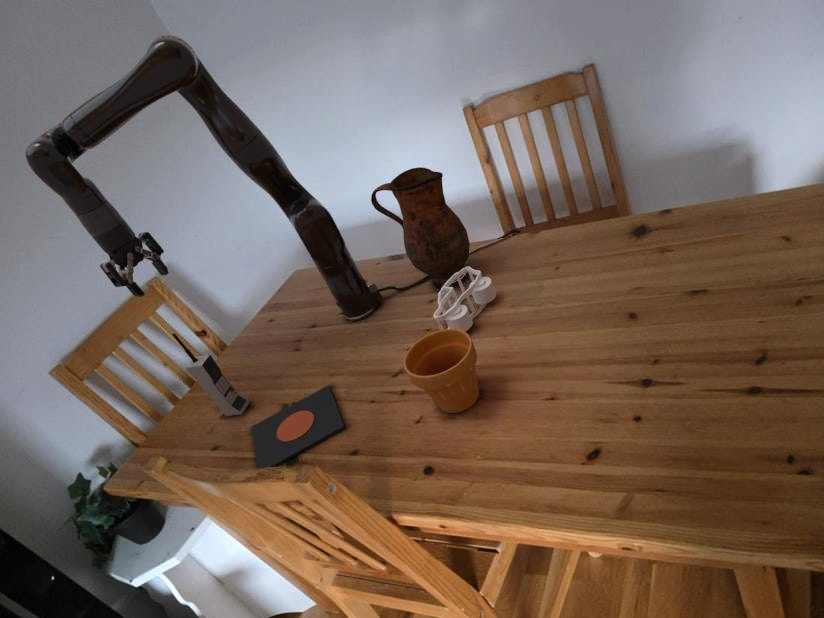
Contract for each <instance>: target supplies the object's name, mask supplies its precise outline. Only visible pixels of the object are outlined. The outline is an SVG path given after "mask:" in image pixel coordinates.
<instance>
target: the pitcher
mask: <svg viewBox="0 0 824 618" xmlns="http://www.w3.org/2000/svg"><path fill="white" fill-rule="evenodd" d="M443 174H444V173H443V172H441V171H434V170H431V169H430V168H427V167H422V166H421V167H414V168H410V169H409V168H408V169H407V170H405V171H403V172H401V173H399V174H398V175H396V176H395V177H394V178H393V179H392V180H391V182H387V183H383V184H381V185H379V186H377V187H376V188H375V189H374V190H373V191H372V193H371V197H370V202H371V205H372V206H373V208H374V209H375V210H376V211H377V212H379V213H381V214H382V215H383V216H386V217H388V218H389V219H391V220H393V221H395V222H396V223H398V224H399V225H400V226H401V227H402V231H403V244H404V245H403V246H404V249H405V254H406V256H407V258H408V260H409V261H410V263H411V264H412V266H413V267H414V268H415V269H416V270H419V271H420V272H422V273H423V274H425V275H426V276H428V275H430V276H432V277H433V278H432V280H431V282H432V287H434V288H436V289H439V290H441V288H442V287H443V285H444V284H445V283H446V282H447V281H448V280H449V279H450V278H451V277H452V276H453V275H454V274H455V273H456V272H459V271H460V270H462V269H463V268H464V267H467V266H466V263H467V261H468V259H469V255H470V254H469V251H470V246H471V245H470V244H471V243H470V239H469V235H468V231H467V229H466V227H465V225H464V224H463V222H462V220H461V218H460V217H459V216H458V215H457V214H456V213H455V212H454V211H453V210H452V209H451V207H450V206H449V205H448V204H447V202H446V198H445V194H444V187H443V176H444V175H443ZM381 191H388V192H391V193H392V195H393V196H394V198H395V199H396V201H397V203H398V207H399V208H400V212H401V217H402V218H401V217H400V216H399V215H397V214H396V213H393V212H392V211H391V210H389V209H387V208H385V207H384V206H382V204H380V202H379V201H378V199H377V193H379V192H381ZM463 275H464V274H463ZM463 275H462V276H463ZM462 276H460V278H461V277H462ZM469 278H470V276H469V273H468V272H467V273H466V275H465V276H464V277H463V278H462V279H461V282H462V284H464V283H465V282H466V281H468V279H469ZM456 280H457V279H455V280H454V281H456ZM454 281H453V282H454ZM458 286H460V285H459V283H458V281H456V282H454V283H451V284H450V286H449V287H453V288H455V287H458Z"/></svg>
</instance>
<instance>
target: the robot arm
mask: <svg viewBox="0 0 824 618" xmlns="http://www.w3.org/2000/svg"><path fill="white" fill-rule="evenodd" d="M175 92H177V93H178V94H179V95H180V96H181V97H182V98H183V99H184V100H185V101H186V102H187V104H189V105H190V106H191V107H192V109H194V111H195V112H196V113H197V114H198V116H199V118H200V119H201V120H202V122H203V124H204V125H205V127H206V128H207V129H208V131H209V132H210V135H212V137H213V138H214V141H216V143H217V144H218V145H219V147H220V148H221V150H222V151H223V152H224V153H225V155H227V157H228V158H229V159H230V160H231V161H232V162H233V163H234V165H236V166H237V168H238V169H240V171H241V172H242V173H243V174H244V175H246V177H248V178H249V179H250V180H251V181H252V182H254V184H256V185H257V186H258V187H259V188H261V189H262V190H263V191H265V192H266V193H267V194H268V195H269V196H270V198H272V200H274V202H275V203H276V204H277V205H278V207H279V208H280V209H281V211H282V212H283V213H284V215H285V216H286V218H287V219H288V221H289V223H290V224H291V226H292V228H293V229H294V230H295V232H296V233H297V235H298V238H299V239H300V240H301V242H302V244H303V246H304V248H305V249H306V251H307V253H308V254H309V256H310V258H311V260H312V262H313V264H314V265H315V267H316V269H317V270H318V273H319V274H320V276H321V278H322V279H323V281H324V282H325V284H326V286H327V288H328V290H329V291H330V292H331V295H332V296H333V298H334V300H335V302H336V306H337V307H338V308H339V309H340V310H341V312H342V314H343V317H344V318H345V319H346V320H347V321H349V322H356V321H360V320H363V319H366V317H368V316H370V315H371V314H372V313H373V312H374V311H375V310H376V309H378V308H379V305H378V302H377V301H379V300H381V299H383V296H382V293H381V292H385V291H388V290H393V291H398V292H401V291H402V292H403V291H406V290H409V289H412V288H414V287H416V286H419V285H420V284H421V283H423V282H425V281H426V280H428V279H430V278H432V277H433V276H430V275H426V276H424V277H423V278H421V279H418V280H417V281H415V282H413V283H411V284H409V285H407V286H403V287H397V286H394V285H393V286H385V287H381V288H378V287H377V285H376V284H375V283H373V284H371V285H368V284H367V282H366V280H365V278H364V277H363V275H362V273H361V272H360V270H359V268H358V266H357V264H356V262H355V260H354V258H353V256H352V253H350V251H349V248H348V247H347V244H346V241H345V239H344V237H343V235H342V233H341V231H340V229H339V228H338V226H337V223H336V221H335V219H334V218H333V216H332V214H331V212H330V211H329V210H328V209H327V208H326V206H325V205H324V204H323V203H322V202H321V201H320V200H318V199H317V198H316V197H315V196H314V195H312V193H310V192H309V191H308V190H307V188H305V186H303V185H302V184H301V182H300V181H298V180H297V178H296V177H295V176H294V175H293V174H292V172H291V171H290V169H289V167H288V165H287V164H286V162H285V161H284V159H283V158H282V156H281V155H280V153H279V151H278V150H277V149H276V148H275V147H274V145H273V143H272V142H271V141H270V140H269V139H268V137H267V136H266V135H265V133H263V132H262V130H261V129H260V128H259V127H258V126H257V124H255V123H254V121H253V120H252V119H251V118H250V117H249V116H248V115H247V114H246V113H245V112H244V111H243V110H242V109H241V108H240V107H239V106H238V104H236V103H235V102H234V101H233V100H232V99H231V97H229V96H228V95H227V94H226V93H225V91H224V90H223V89H222V88H221V87H220V85H219V84H218V83H217V81H216V80H215V78H214V77H213V76H212V75H211V74H210V72H209V71H208V69H207V68H206V66H205V65H204V64H203V62H202V60H201V59H200V58H199V56H198V55H197V53H196V51H195V50H194V48H193V47H192V46H191V45H190V44H189V43H188V42H187V41H186V40H184V39H183V38H181V37H178V36H175V35H171V34H165V35H164V34H163V35H159V36H158V37H156V38H155V39H153V40H152V41H151V43H150V45H149V46H148V48H147V51H146V53H145V54H144V56H143V57H141V59H139V61H138V62H137V64H136V65H135V66H134V67H133V68H132V69H131V70H130V71H128V73H127V74H125V75H124V76H123V77H121V78H120V79H119V80H117V81H116V82H115V83H114V84H111V85H110V86H108V87H106V88H105V89H103V90H101V91H100V92H98V93H97V94H94V95H93V96H92V97H91V98H89V99H87V100H86V101H85V102H83V103H82V104H80V105H79V106H77V108H75V109H74V110H73V111H71V112H70V113H69V114H67V115H66V117H64V118H63V119H62V121H60V122H59V123H57V124H55V125H54V126H53V127H51V128H49V129H47V131H45V132H43V133H42V134H40V135H39V136H38V137H37V138H35V139H34V140H33V141H32V142H31V143H30V144H28V145H27V147H26V149H25V153H24V155H25V160H26V162H27V164H28V166H29V168H30V170H31V171H32V172H33V173H34V174H35V175H36V176H37V178H39V180H40V181H42V182H43V183H44V184H45V185H46V186H47V187H48V188H49V189H50V190H51V191H53V192H54V193H55V194H57V195H58V196H59V197H60V198H61V199H62V201H63V202H64V203H65V204H66V206H67V207H68V208H69V209H70V210H71V212H72V213H73V214H74V215H75V217H76V218H77V219H78V221H79V223H80V224H81V225H82V226H83V228H84V229H85V230H86V232H87V233H88V234H89V235H90V237H91V238H92V239H93V240H94V241H95V243H96V244H97V245H98V247H100V248H101V250H102V251H103V252H104V253H106V254H107V255H108V257H109V260H108V261H106V262H105V263H104V262H103V263H101V264H100V265H99V267H100V269H101V270H102V272H103V273H104V274H105V276H106V277H107V278H108V280H109V281H110V282H111V283H112V285H113V286H114V287H115V288H121V287H122V288H123V287H126V289H127V290H128V291H129V292H130V294H132V295H133V296H134V297H137V298H142V297H144V296H145V295H146V293H145V292H144V290H143V289H142V288H141V286H139V285H138V283H137V282H136V281H134V272H135V270H134V269H135V268H136V267H137V266H138V265H139V263H141V262H143V261H144V260H147V261H151V265H152V266H153V267H154V268H155V270H156V271H157V273H158V274H159V275H160V276H168V274H169V269H168V267H167V266H166V264H165V262H163V260H162V258H161V256H162V254H164V252H165V250H164V249H163V247H162V246H161V244H159V243H158V242H157V240H156V239H155V238H154V237H153V236H152V234H151V233H150V232H149V231H144V232H139V233H138V236H136V232H134V230H133V229H132V227H131V226H130V225H129V224H128V222H127V221H126V220H125V218H124V217H123V216H122V214H121V213H120V212H119V210H118V209H117V207H115V206H114V205H113V204H112V203H111V202H110V200H108V199H107V197H106V196H105V195H104V194H103V192H102V191H101V189H99V187H98V185H96V183H95V182H94V181H93V180H92V179H90V178H88V177H84V176H83V175H82V174H81V173H80V171H79V170H78V169H77V168H76V167H75V166H74V165H73V163H74V162H75V161H76V160H78V159H79V158H80V157H81V156H82V155H84V154H85V153H86V152H87V151H88V150H93V149H94V148H96V147H97V146H99V145H100V144H102V143H103V142H105V141H106V140H108V139H109V138H110V137H111V136H113V135H114V134H115V133H116V132H118V131H119V130H120V129H121V128H122V127H123V126H125V125H126V124H127V123H129V121H131V120H132V119H133V118H134V117H135V116H137V115H138V114H140V113H141V112H142V111H143V110H145V109H146V108H149V106H151V105H152V104H155V103H156V102H157V101H159V100H161V99H163V98H165V97H167V96H169V95H171V94H173V93H175ZM515 233H516V234H521V233H522V230H519V229H511V230H509V231H507V232H506V233H505V234H503V235H502V236H500V237H497V238H496V239H500V238H504V239H506V238H507V237H508V236H510V235H511V234H515ZM143 244H144V245H145V246H146V247H147V248H148V249H146V248H144V245H143ZM117 266H118V267H117ZM117 268H118V270H117Z"/></svg>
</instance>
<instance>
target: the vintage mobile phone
mask: <svg viewBox="0 0 824 618" xmlns="http://www.w3.org/2000/svg"><path fill="white" fill-rule="evenodd" d="M171 335H172V337H173V338H174V339H175V340H176V342H177V343H178V344H179V345H180V346H181V347H182V349H183V350H184V352H185V353H186V354H187V356H188V357H189V358H190V361H189V363H188V364H187V365H186V367H185V369H186V371H187V372H188V373H189V374H190V375H191V377H192V378H193V379H194V380H195V381H196V383H198V385H199V386H200V388H201V389H202V390H203V391H204V392H205V393H206V394H207V396H208V397H209V398H210V399H211V400H212V401H213V403H214V404H215V405H216V406H217V407H218V408H219V410H220V411H221V412H222V413H223V414H224V416H226V417H233V416H242V415H243V414H244V413H245V411H246V409H247V408H248V406H249V404H250V403H249V401H248V400H246V399H245V398H244V397H242V396H241V395H240V394H239V393H238V392H237V391H236V389H235V388H234V387H233V386H232V384H231V383H230V381H228V379H227V378H226V377H225V376H224V374H223V373H222V369H221V368H220V367H219V365H218V364H217V362H216V361H215V359H214V358H213V356H212V355H211V354H203V355H198V356H194V354H193V353H192V352H191V350H190V349H189V348H188V347H187V346H186V345H185V344H184V343H183V342H182V341H181V339H180V338H179V337H178V336H177V334H176V333H175V332H174V333H172V334H171Z"/></svg>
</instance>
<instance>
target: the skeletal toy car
mask: <svg viewBox="0 0 824 618" xmlns="http://www.w3.org/2000/svg"><path fill="white" fill-rule="evenodd" d="M466 272H468V273H469V276H470V277H469V278H470V281H471V283H470V284H469V286H468V288H467V289H465V287H464V283H462V282H461V279H460V276H462V275H463V274H464V273H466ZM474 275H475V276H476V277H474ZM455 279H457V280H458V283H459V285H458V286H459V287H460V290H461V292H462V293H461V294H460V295H459V297H458V295H457V293H456V291H455V287H449V286H450V284H451V283H452V282H453V281H454V280H455ZM471 295H472V298H473V300H474V303H475V304H476V305H481V304H483V305H482V306H481V307H480V309H479V310H478V311H477V312H476V311H475V310H477V309H475V307H474V306H475V305H474V304H473V300H472V299H471V297H470V296H471ZM437 296H438V297H437V305H438V306H437V307H438V308H437V309H436V310H435V311H434V313H433V319H434V321H435V322H436V325H437V326H438V328H439V330H444V329H445V328H444V326H443V324H442V321H444V320H445V322H446V324H447V329H459V330H462V331H464V332H467V331H469V330H470V329H471V328H472V326H473V325H474V321H473V320H474V319H475V318H477V316H478V315H479V314H480V313H481V312H482V311H483V310H484V309H485V308H486V306H487V304H488V303H490V302H492V301H493V300H494V299H496V297H497V292H496V289H495V286H494V284H493V281H492V278H490V277H489V276H483V274H482V271H481V270H478V269H474V268H472V267H471V266H469V265H468V266H466V267H465V268H463V269H462V270H460V271H459V272H456V273H455V274H454V275H453V276H452V277H451V278H450V279H449V280H448V281H447V282H446V283H445V284H444V285H443V287H442V288H441V289H439V292H438V293H437ZM451 297H453V299H454V302H453V303H452V300H451ZM465 299H466V301H467V302H468V305H469V308H470V310H471V312H472V313H471V314H470V312H469V308H468V306H466V305H465V304H461V303H462V302H463V301H464V300H465ZM446 303H448V306H449V308H448V309H447V310H446V309H445V307H444V305H445V304H446ZM475 312H476V313H475ZM473 313H475V314H474V315H472V314H473ZM471 315H472V316H471Z"/></svg>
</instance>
